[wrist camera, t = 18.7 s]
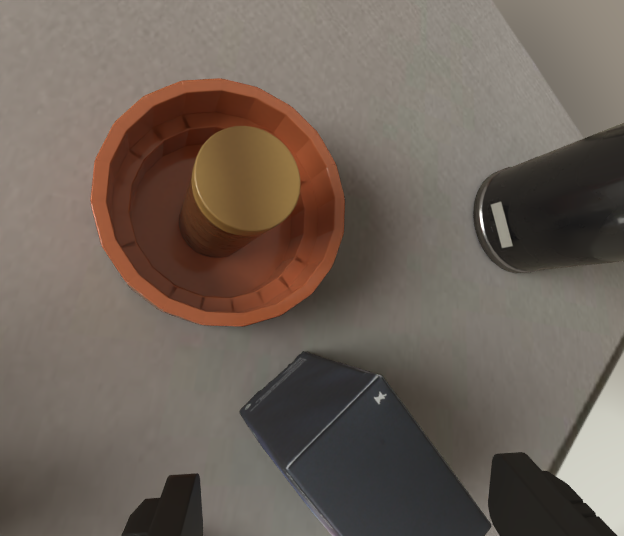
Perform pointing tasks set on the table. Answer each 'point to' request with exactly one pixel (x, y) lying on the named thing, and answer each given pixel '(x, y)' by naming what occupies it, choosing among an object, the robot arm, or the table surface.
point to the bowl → (171, 192)
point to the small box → (358, 454)
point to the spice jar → (238, 190)
